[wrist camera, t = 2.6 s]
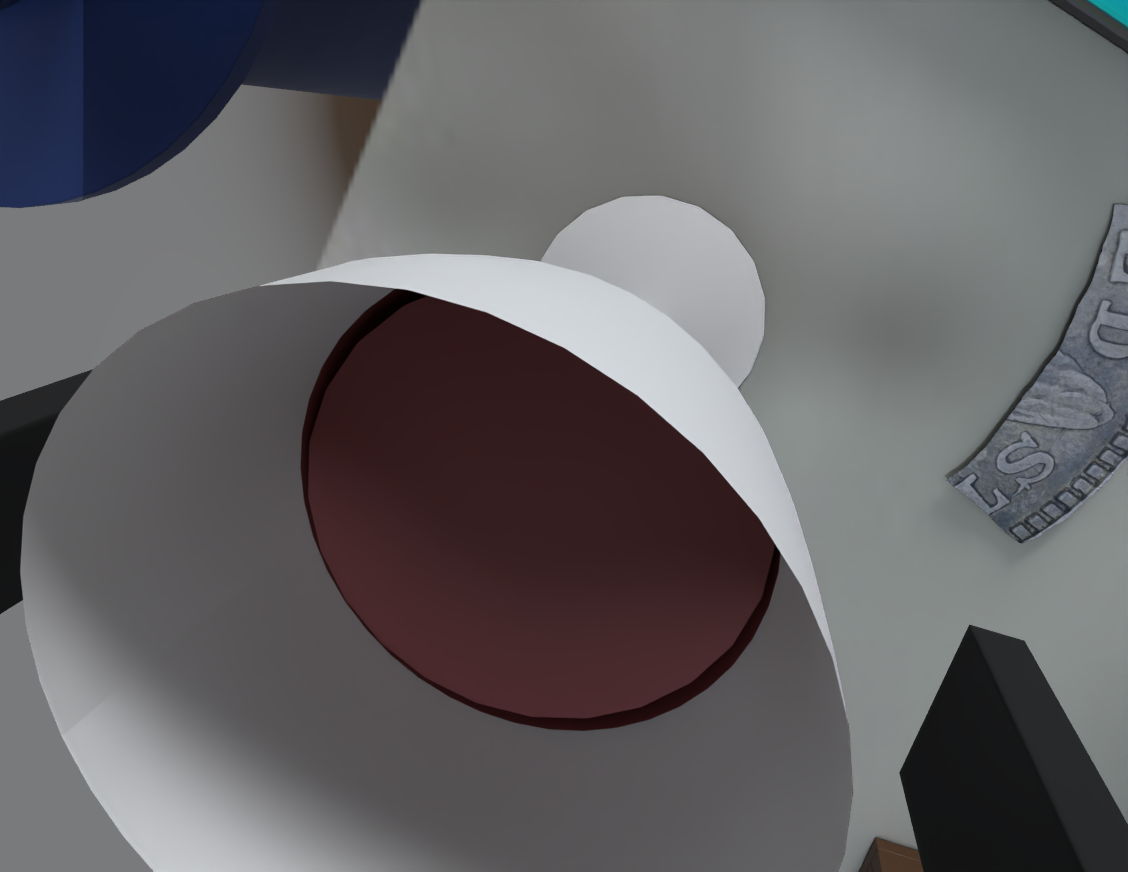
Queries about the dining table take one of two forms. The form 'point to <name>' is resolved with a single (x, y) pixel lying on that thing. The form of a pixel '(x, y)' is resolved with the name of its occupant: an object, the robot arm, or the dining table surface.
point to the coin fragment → (1064, 414)
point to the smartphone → (1102, 17)
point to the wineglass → (445, 572)
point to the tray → (891, 858)
